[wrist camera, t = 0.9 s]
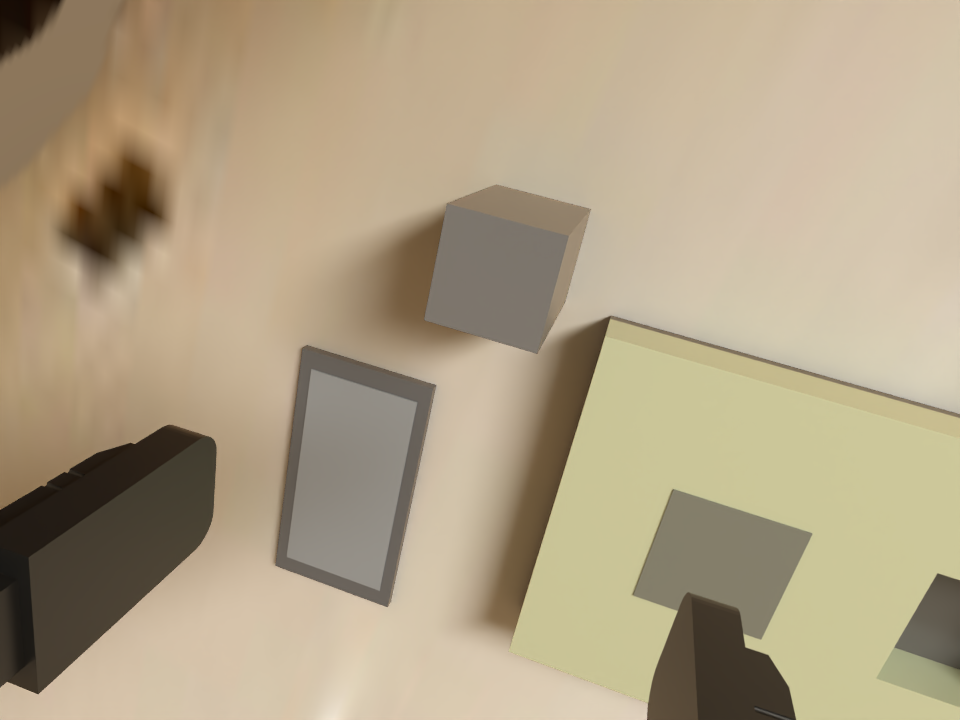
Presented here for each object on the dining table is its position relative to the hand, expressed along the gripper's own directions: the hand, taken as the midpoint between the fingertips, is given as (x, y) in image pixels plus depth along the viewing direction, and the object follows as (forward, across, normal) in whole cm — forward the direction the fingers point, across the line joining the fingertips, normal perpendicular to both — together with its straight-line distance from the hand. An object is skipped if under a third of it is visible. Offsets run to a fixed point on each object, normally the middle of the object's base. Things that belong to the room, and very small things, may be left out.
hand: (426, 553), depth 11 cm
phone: (+20, +8, +12) cm, 25 cm away
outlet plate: (+19, -14, +9) cm, 25 cm away
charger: (+19, +2, -1) cm, 19 cm away
